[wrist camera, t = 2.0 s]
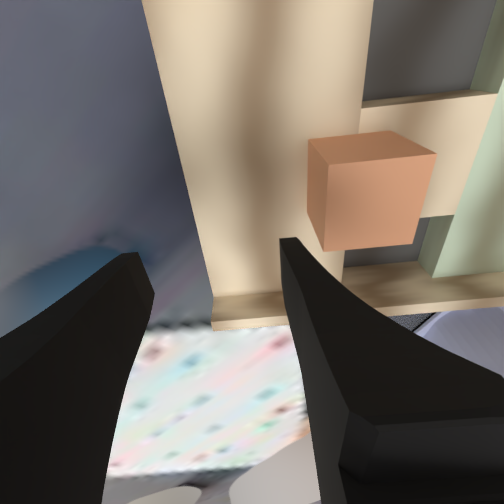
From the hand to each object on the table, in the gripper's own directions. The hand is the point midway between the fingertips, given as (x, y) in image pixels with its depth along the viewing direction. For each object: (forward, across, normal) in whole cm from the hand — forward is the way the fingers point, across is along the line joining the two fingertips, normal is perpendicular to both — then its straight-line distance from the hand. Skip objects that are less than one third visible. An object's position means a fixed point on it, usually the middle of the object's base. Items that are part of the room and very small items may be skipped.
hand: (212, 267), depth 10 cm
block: (+8, -7, 0) cm, 11 cm away
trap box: (+10, -10, 0) cm, 15 cm away
